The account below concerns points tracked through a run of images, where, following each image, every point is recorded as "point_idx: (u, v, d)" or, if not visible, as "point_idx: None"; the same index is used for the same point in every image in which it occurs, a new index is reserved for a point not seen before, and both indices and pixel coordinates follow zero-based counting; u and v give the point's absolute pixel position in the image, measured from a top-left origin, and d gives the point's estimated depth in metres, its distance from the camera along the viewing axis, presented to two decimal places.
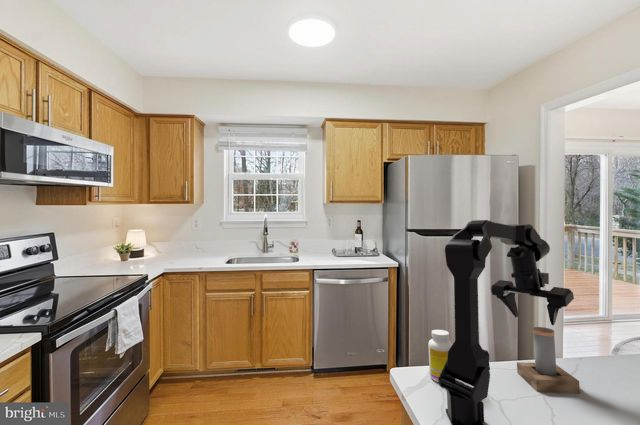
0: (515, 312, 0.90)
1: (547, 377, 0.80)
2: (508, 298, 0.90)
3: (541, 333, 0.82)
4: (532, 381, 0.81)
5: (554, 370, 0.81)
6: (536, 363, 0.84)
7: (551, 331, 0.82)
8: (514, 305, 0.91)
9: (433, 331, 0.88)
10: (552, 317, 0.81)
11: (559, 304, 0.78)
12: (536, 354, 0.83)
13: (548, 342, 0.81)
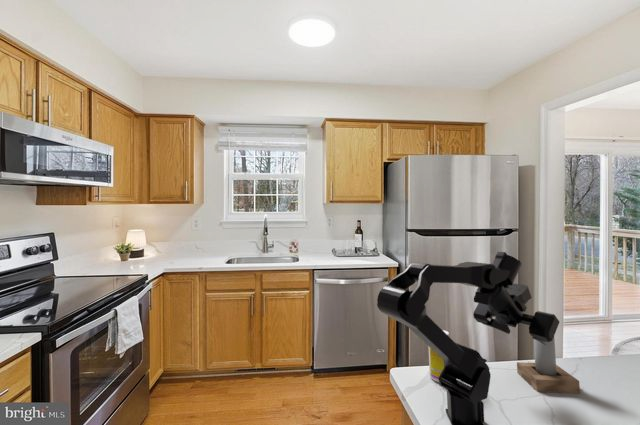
0: (506, 330, 0.83)
1: (547, 377, 0.80)
2: (494, 323, 0.82)
3: None
4: (532, 381, 0.81)
5: (554, 370, 0.81)
6: (536, 363, 0.84)
7: None
8: (503, 324, 0.83)
9: None
10: (542, 342, 0.74)
11: (544, 339, 0.70)
12: (536, 354, 0.83)
13: (548, 342, 0.81)
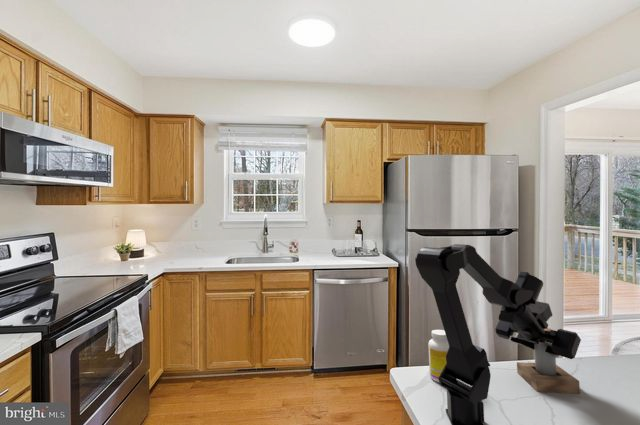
0: None
1: (547, 377, 0.80)
2: (523, 341, 0.84)
3: None
4: (532, 381, 0.81)
5: (554, 370, 0.81)
6: (536, 363, 0.84)
7: None
8: (532, 342, 0.85)
9: (433, 331, 0.88)
10: (554, 355, 0.80)
11: (567, 357, 0.73)
12: (536, 354, 0.83)
13: None
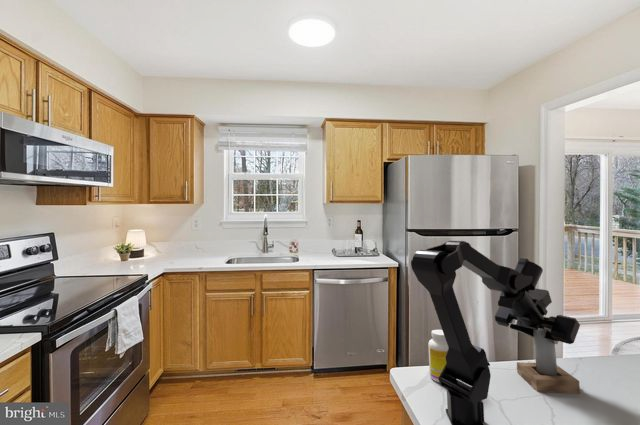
0: None
1: (547, 377, 0.80)
2: (522, 328, 0.84)
3: None
4: (532, 381, 0.81)
5: (554, 359, 0.81)
6: (536, 352, 0.84)
7: None
8: (531, 329, 0.86)
9: (433, 331, 0.88)
10: (553, 342, 0.80)
11: (566, 342, 0.74)
12: (535, 343, 0.84)
13: None
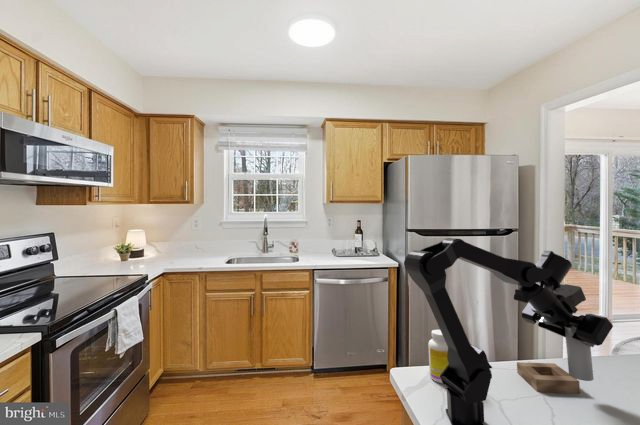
0: None
1: (547, 377, 0.80)
2: (551, 326, 0.78)
3: None
4: (532, 381, 0.81)
5: (588, 362, 0.73)
6: (567, 354, 0.76)
7: None
8: (563, 329, 0.78)
9: (433, 331, 0.88)
10: (585, 343, 0.72)
11: (592, 343, 0.67)
12: (567, 344, 0.76)
13: None
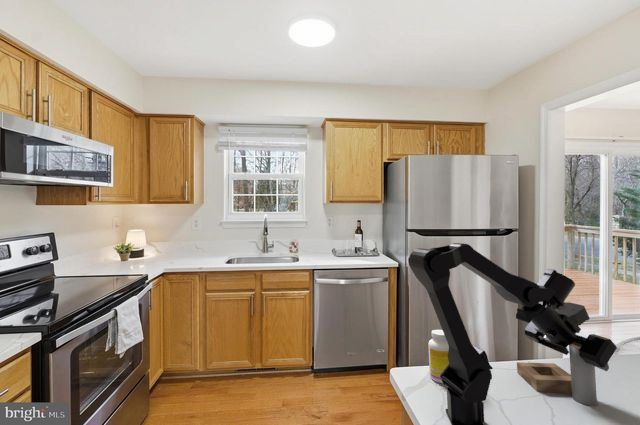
0: (563, 351, 0.79)
1: (547, 377, 0.80)
2: (547, 342, 0.79)
3: None
4: (532, 381, 0.81)
5: (592, 387, 0.72)
6: (571, 377, 0.75)
7: None
8: None
9: (433, 331, 0.88)
10: None
11: (596, 364, 0.66)
12: (571, 367, 0.75)
13: None
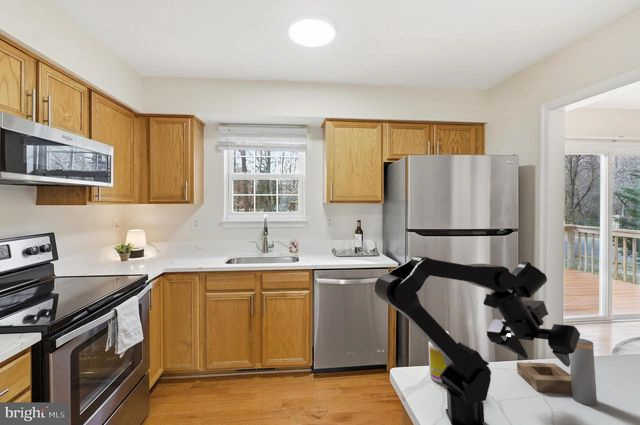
0: (523, 354, 0.77)
1: (547, 377, 0.80)
2: (509, 343, 0.77)
3: None
4: (532, 381, 0.81)
5: (592, 387, 0.72)
6: (571, 377, 0.75)
7: (589, 343, 0.73)
8: (519, 346, 0.78)
9: None
10: (564, 361, 0.68)
11: (565, 351, 0.65)
12: (571, 367, 0.75)
13: (584, 355, 0.73)
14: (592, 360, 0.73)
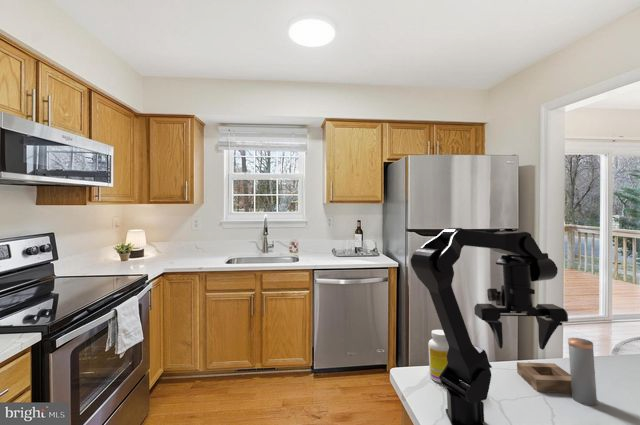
0: None
1: (547, 377, 0.80)
2: None
3: (575, 344, 0.74)
4: (532, 381, 0.81)
5: (592, 387, 0.72)
6: (571, 377, 0.76)
7: (589, 343, 0.73)
8: None
9: (433, 331, 0.88)
10: (548, 338, 0.72)
11: (563, 319, 0.70)
12: (571, 367, 0.75)
13: (584, 355, 0.73)
14: (592, 360, 0.73)
